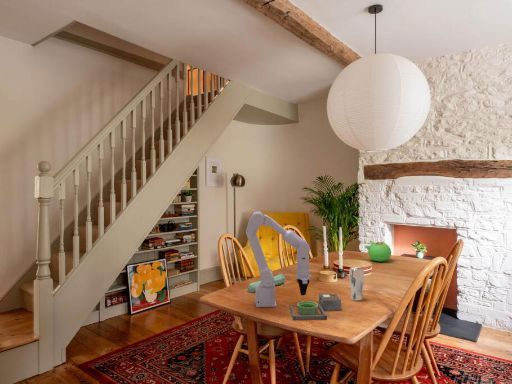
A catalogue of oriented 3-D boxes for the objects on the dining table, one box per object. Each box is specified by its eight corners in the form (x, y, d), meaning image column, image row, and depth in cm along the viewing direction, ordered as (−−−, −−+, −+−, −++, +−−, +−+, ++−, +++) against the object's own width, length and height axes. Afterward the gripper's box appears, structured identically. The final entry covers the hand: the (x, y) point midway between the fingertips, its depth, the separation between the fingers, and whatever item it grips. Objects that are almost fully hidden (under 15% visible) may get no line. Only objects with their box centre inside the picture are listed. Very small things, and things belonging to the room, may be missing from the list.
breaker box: (323, 310, 151) (322, 299, 151) (319, 302, 161) (318, 292, 161) (341, 310, 151) (340, 298, 151) (335, 302, 161) (335, 291, 161)
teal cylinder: (251, 282, 177) (283, 272, 194) (244, 284, 181) (276, 274, 198) (254, 293, 176) (286, 282, 193) (247, 295, 180) (279, 284, 197)
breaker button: (323, 302, 154) (323, 296, 154) (322, 300, 157) (322, 294, 157) (330, 302, 154) (330, 296, 154) (328, 300, 157) (328, 294, 157)
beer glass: (361, 296, 169) (361, 266, 169) (366, 301, 162) (366, 269, 162) (347, 296, 169) (347, 266, 169) (352, 301, 162) (351, 270, 162)
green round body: (388, 264, 238) (388, 243, 238) (364, 262, 246) (363, 242, 246) (393, 259, 253) (392, 240, 253) (369, 257, 262) (369, 238, 262)
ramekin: (320, 312, 149) (320, 302, 149) (315, 319, 141) (315, 308, 141) (300, 309, 153) (300, 299, 153) (294, 316, 145) (294, 306, 144)
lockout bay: (293, 320, 140) (293, 316, 140) (289, 308, 154) (289, 304, 154) (326, 319, 140) (326, 315, 140) (320, 307, 154) (320, 304, 154)
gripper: (313, 269, 152) (314, 299, 153) (309, 262, 167) (309, 290, 167) (298, 269, 153) (298, 299, 153) (294, 262, 167) (295, 290, 167)
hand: (303, 294), depth 160 cm, fingers closed
